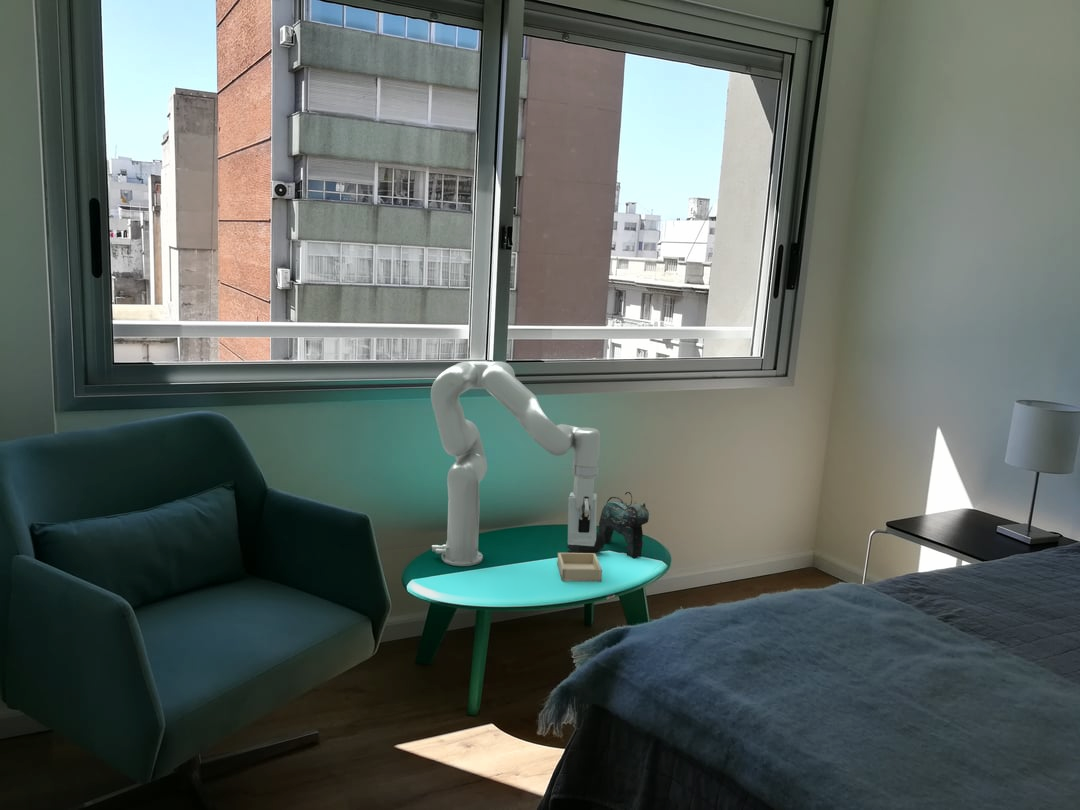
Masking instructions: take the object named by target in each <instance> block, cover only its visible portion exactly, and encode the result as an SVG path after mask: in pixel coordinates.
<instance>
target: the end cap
mask: <svg viewBox="0 0 1080 810" xmlns="http://www.w3.org/2000/svg"><path fill="white" fill-rule="evenodd" d="M566 547H567V549H569V550H567V553H595V554H596V553H599V552H601V551H602V550H603V549H604V547H605V544H604V538H603V536H602V534H601V533H600V532H599V531H596V542H595V545H594V546H584V545H568V542H567V543H566Z"/></svg>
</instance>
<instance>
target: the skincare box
mask: <svg viewBox="0 0 1080 810" xmlns="http://www.w3.org/2000/svg"><path fill="white" fill-rule="evenodd" d="M567 499H568V501H567V502H568V503H567V504H568V506H567V507H568V508H567V511H568V512H567V543H568V545H584V546H594V545H595V542H596V532H597V524H598V523H597V519H598V517H597V512H598V494H597V493H593V506H592V510H590V528H589V533H580V532H578V527H579V519H580V509H578V510H576V509H575V495H574V493H573V491H572V492H570V493H569V496H568V498H567ZM590 508H591V506H590ZM582 509H584V507H582ZM583 513H584V511H582V514H583Z"/></svg>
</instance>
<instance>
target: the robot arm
mask: <svg viewBox="0 0 1080 810" xmlns="http://www.w3.org/2000/svg"><path fill="white" fill-rule="evenodd" d="M468 390H486V392H487V393H488V394H490V395H491V396H492V397H493V398H494V399H495V400H496V401H498V402H499V403H500V404H501V405H502V406H503V407H504V408H505V409H507V411H509V413H511V414H512V415H513V416H514V417H515V418H516V419H517V421H518V423H519V424H520V425H521V426H522V427H523V429H524V430H525V432H527V434H528V435H529V436H530V437H531V438H532V440H534V442H535V443H537V444H538V445H540V447H541V448H543V450H544V451H546V452H547V453H549V454H551V455H553V456H557V457H559V456H561V457H562V456H564V455H566V454H567V453H568V452H569V451H570V450H571V449H572V450H573V455H572V457H573V458H572V472H571V474H572V475H573V477H574V479H573V489H572V493H574V495H575V509H576V510H578V509H580V519H579V527H578V532H580V533H589V528H590V510H592V506H593V494H595V493H594V490H595V487H594V486H595V485H594V484H595V478H597V477H598V476H599V462H600V460H599V459H600V448H601V447H600V445H601V433H600V431H599V429H597V428H593V427H586V426H585V427H578V426H575V425H570V424H565V423H560V424H557V425H556V424H555V423H554V422H553V421H552V420H551V419H549V417H547V416H548V415H546V414H545V413H544V411H543V409H542V408H541V405H540V403H539V400H538V398H537V396H536V395H535V394H534V393H533V392H532V391H531V390H530V389H528V387H526V386H525V385H524V384H523V383H522V382H521V381H519V379H518V378H517V377H516V373H515V370H514V368H513V367H512V366H511V365H510V364H509V363H507V362H504V361H461V362H458V363H456V364H454V365H452V366H449V367H448V368H446V369H445V370H444V371H442V372H441V373H440V374H439V375H438V376H437V377H436V378H435V380H434V381H433V383H432V386H431V389H430V401H431V405H432V406H431V407H432V410H433V413H434V417H435V421H436V425H437V430H438V433H439V437H440V442H441V445H442V448H443V450H444V451H445V452H446V454H448V455H449V456H452V457H455V461H454V463H453V464H452V465H451V466H450V468H449V469H448V472H447V478H446V483H447V484H446V485H447V497H448V498H447V502H448V503H447V531H446V533H447V534H446V535H447V536H446V539H447V540H446V541H445V543H444V544H442V545H440V544H439V545H438V544H432V545H431V551H432V552H435V554H441V560H442V562H443V563H445V564H447V565H451V566H453V567H454V566H455V567H456V566H457V567H471V566H474V565H475V566H476V565H478V564H480V563H481V562H482V561H483V559H484V557H483V554H482V552H480V551H479V533H480V532H479V531H480V506H481V503H480V499H481V498H480V483H481V482H482V480H483V479H484V478H485V476H486V475H487V471H488V461H487V457H486V454H485V450H484V446H483V443H482V438H481V435H480V431H479V429H478V426H476V424H475V423H474V422H473V421H471V420H468V419H466V417H465V413H464V409H463V406H462V404H461V401H460V395H462V394H464V393H466V392H467V391H468ZM590 506H591V508H590ZM582 507H584V509H582ZM582 511H584V513H583V514H582Z"/></svg>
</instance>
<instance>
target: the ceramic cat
mask: <svg viewBox="0 0 1080 810" xmlns="http://www.w3.org/2000/svg"><path fill="white" fill-rule="evenodd" d="M627 494H629V495H630V498H631V500H630V504H628V503H626V502H624V500H623V499H621V498H620V497H617V496H611V497H609V498H608V499H607V501H606V503H605V504H604V506H603V507H602V510H601V513H600V518H599V523H598V532H600V533H601V534H602V536H603V538H604V545H607V544H610V543H611V540H612V537H613V533H614V531H615V533H618V534H620V535H622V536H623V538H624V540H625V543H626V556H628V557H630V558H632V559H638V558H641V557H642V552H643V551H642V549H643V545H644V544H643V543H644V542H643V535H644V533H643V525H645V524H648V522H649V519H650V513H649V512H650V511H649V510H648V508H647V507H646V503H645V502H644V503H641V504H638V502H637V501H636V500H635V501H634V502H633V496H632V495H633V494H632V493H631V491H627V492H625V493H624V496H626V495H627ZM612 499H617V500H616V501H615V500H614V501H611V500H612ZM618 500H619V501H618ZM606 543H607V544H606Z"/></svg>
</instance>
